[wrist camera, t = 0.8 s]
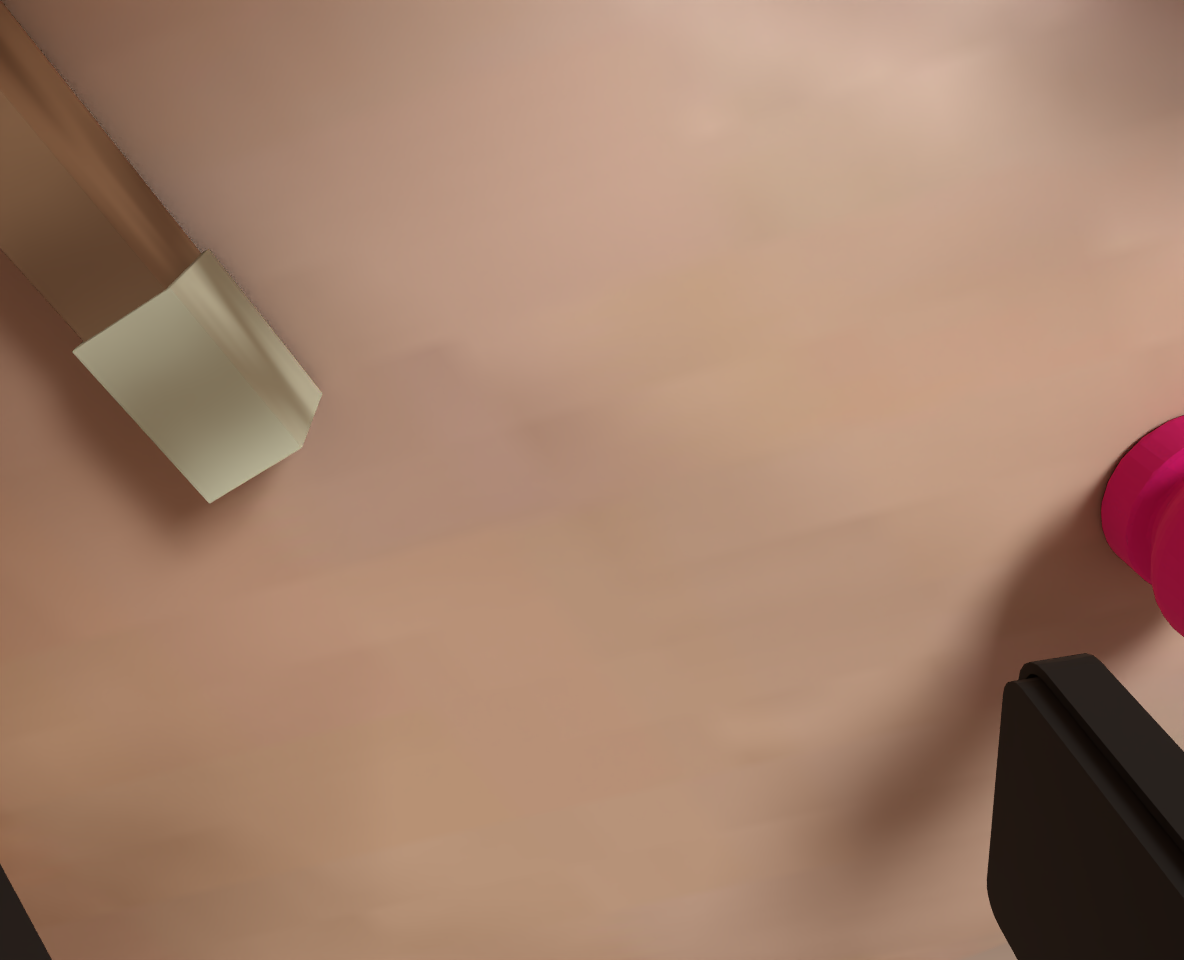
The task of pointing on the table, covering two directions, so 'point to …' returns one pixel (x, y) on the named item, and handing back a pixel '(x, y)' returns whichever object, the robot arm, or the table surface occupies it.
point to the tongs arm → (139, 287)
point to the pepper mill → (1151, 515)
